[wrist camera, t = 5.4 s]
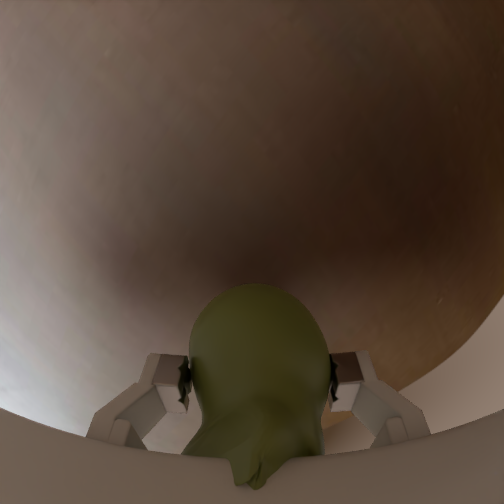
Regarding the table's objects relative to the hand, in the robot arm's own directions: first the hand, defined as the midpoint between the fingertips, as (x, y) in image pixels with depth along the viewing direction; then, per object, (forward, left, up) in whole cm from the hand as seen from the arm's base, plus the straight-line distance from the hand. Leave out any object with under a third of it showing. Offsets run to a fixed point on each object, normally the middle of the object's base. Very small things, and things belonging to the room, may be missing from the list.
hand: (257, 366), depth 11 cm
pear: (0, 0, -4) cm, 4 cm away
